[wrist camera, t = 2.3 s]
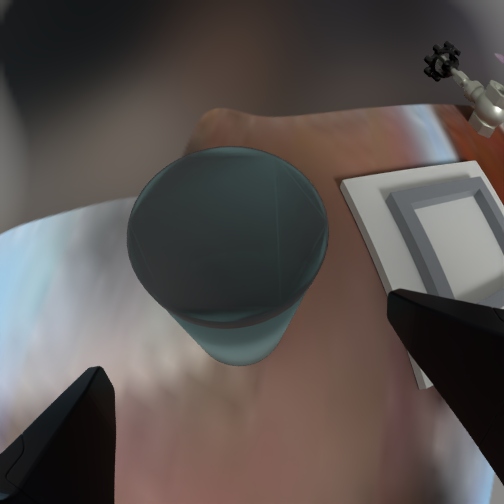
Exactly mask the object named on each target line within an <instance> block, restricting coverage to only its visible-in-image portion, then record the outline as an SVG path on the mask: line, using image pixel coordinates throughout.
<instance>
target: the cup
mask: <svg viewBox="0 0 504 504" xmlns="http://www.w3.org/2000/svg"><path fill="white" fill-rule="evenodd" d="M328 237H329V227H328V219H327V214H326V210H325V207H324V204H323V202H322V199H321V197H320V195H319V194H318V192H317V190H316V189H315V187H314V186H313V184H312V183H311V182H310V181H309V179H308V178H307V177H306V176H305V175H304V174H303V173H302V172H301V171H299V170H298V169H297V168H296V167H294V166H293V165H292V164H290V163H288V162H287V161H285V160H284V159H282V158H280V157H278V156H275V155H273V154H270V153H268V152H265V151H261V150H257V149H253V148H247V147H236V146H226V147H215V148H209V149H204V150H201V151H197V152H194V153H191V154H189V155H186V156H184V157H182V158H180V159H178V160H176V161H174V162H173V163H171V164H169V165H168V166H166V167H165V168H164V169H163V170H161V171H160V172H159V173H157V174H156V175H155V177H153V178H152V180H150V181H149V183H148V184H147V185H146V186H145V188H144V189H143V190H142V192H141V193H140V195H139V197H138V198H137V200H136V202H135V204H134V207H133V209H132V211H131V215H130V218H129V222H128V229H127V248H128V254H129V258H130V261H131V264H132V268H133V270H134V272H135V274H136V276H137V278H138V279H139V281H140V282H141V284H142V285H143V286H144V288H145V289H146V290H147V291H148V293H149V294H150V295H151V296H152V297H153V298H154V299H155V300H156V301H157V302H158V303H159V304H160V305H161V306H162V307H163V308H165V309H166V310H167V311H168V312H169V313H170V314H171V316H172V317H173V318H174V319H175V320H176V321H177V322H178V323H179V324H180V325H181V326H182V327H183V328H184V329H185V331H186V332H187V333H188V334H189V335H190V336H191V337H192V338H193V339H194V340H195V341H196V342H197V343H198V344H199V345H200V346H201V347H202V348H203V349H204V350H205V351H206V352H207V353H208V354H209V355H210V356H211V357H213V358H214V359H215V360H217V361H219V362H221V363H224V364H227V365H232V366H246V365H251V364H254V363H257V362H259V361H261V360H263V359H264V358H266V357H267V356H268V355H269V354H270V353H271V352H272V351H273V350H274V349H275V348H276V346H277V345H278V343H279V341H280V339H281V338H282V336H283V334H284V332H285V330H286V328H287V327H288V325H289V323H290V321H291V319H292V317H293V315H294V314H295V312H296V310H297V308H298V306H299V304H300V302H301V300H302V298H303V297H304V295H305V293H306V291H307V290H308V289H309V287H310V285H311V284H312V282H313V281H314V279H315V277H316V275H317V273H318V271H319V270H320V267H321V265H322V263H323V260H324V258H325V254H326V250H327V246H328Z"/></svg>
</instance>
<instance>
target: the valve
mask: <svg viewBox="0 0 504 504" xmlns="http://www.w3.org/2000/svg"><path fill="white" fill-rule="evenodd" d="M451 48H452V49H451ZM450 49H451V50H450ZM433 50H434V54H433V55H432V56H429V55H428V56H426V57H425V59H424V61H425V62H426V63H427V64H428V65H429V67H426V68H425V69H424V73H425V74H426V75H427V76H428V77H432V78H433V79H434V80H435V81H436V82H438V81H439V80H440V78H448V77H450V76H454V80H455V81H456V82H457V83H458V84H459V85H460V86H461V87H464V90H465V91H464V96H465V97H466V98H467V99H468V100H469V101H470V102H474V103H475V109H474V111H473V113H472V114H471V116H470V119H469V121H468V122H469V124H470V125H471V126H472V127H473V128H474V130H475V131H476V132H477V133H478V134H480V135H483V136H485V137H487V138H490V136H491V135H492V133H493V132H494V130H495V127H497V126H499V125H501V124H502V123H503V121H504V86H503V85H501V84H499V83H498V82H496V81H493V80H491V81H490V83H489V84H488V86H487V88H486V90H485V91H484V87H483V86H482V85H481V84H480V83H479V82H478V81H473V82H472V81H469V78H468V77H467V76H466V75H465V74H464V73H463V72H462V71H457V68H458V66H459V61H458V59H457V58H456V57H455V55H458V56H459V55H460V53H461V52H460V51H459V50H458V49H457V48H456V47H454V45H453V44H451V43H450V42H449V41H446V42H445V43H444V47H443V48H441V47H440V46H439V45H438V44H436V45H434V46H433ZM444 53H449V59H447V58H446V57H445V56H441V55H442V54H444ZM437 59H438V61H437V64H438V65H439V66H440V67H441V69H438V70H437V69H435V63H436V60H437ZM432 72H433V73H432ZM431 73H432V75H431Z"/></svg>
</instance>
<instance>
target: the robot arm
mask: <svg viewBox="0 0 504 504" xmlns="http://www.w3.org/2000/svg"><path fill="white" fill-rule="evenodd" d="M387 317H388V320H389V322H390V324H391V325H392V327H393V328H394V330H395V332H396V333H397V335H398V336H399V338H400V340H401V341H402V343H403V344H404V346H405V348H406V349H407V351H408V352H409V354H410V355H411V357H412V358H413V359H414V361H415V362H416V363H417V364H418V366H419V367H420V368H421V370H422V371H423V372H424V373H425V375H426V376H427V377H428V379H429V380H430V381H431V383H432V384H433V385H434V387H435V388H436V389H437V391H438V392H439V393H440V395H441V396H442V397H443V399H444V400H445V401H446V403H447V404H448V405H449V407H450V408H451V409H452V411H453V412H454V414H455V415H456V416H457V418H458V419H459V421H460V422H461V423H462V425H463V426H464V428H465V429H466V430H467V432H468V433H469V435H470V436H471V437H472V439H473V440H474V442H475V443H476V445H477V446H478V447H479V449H480V451H481V452H482V454H483V455H484V457H485V458H486V460H487V461H488V463H489V464H490V466H491V467H492V469H493V470H494V472H495V473H496V475H497V476H498V478H499V479H500V481H501V482H502V484H503V485H504V309H500V308H495V307H493V308H492V307H490V306H485V305H480V304H475V303H470V302H465V301H460V300H455V299H450V298H445V297H441V296H436V295H431V294H426V293H421V292H416V291H411V290H406V289H402V288H398V289H396V290H393V291H390V292H389V293H388V297H387ZM115 449H116V417H115V391H114V387H113V385H112V383H111V382H110V380H109V378H108V376H107V374H106V373H105V371H104V369H103V368H102V367H101V366H96V367H90V368H88V369H87V370H86V371H85V372H84V373H83V374H82V375H81V376H80V377H79V378H78V379H77V380H76V381H74V382H73V383H72V384H71V385H70V386H69V387H68V388H67V389H66V390H65V391H64V392H63V393H62V394H61V395H60V396H59V397H58V398H57V399H56V400H55V401H54V402H53V403H52V404H51V405H50V406H49V407H48V408H47V409H46V410H45V411H44V412H43V413H42V414H41V415H40V416H39V417H38V418H37V419H36V420H35V421H34V422H33V423H32V424H31V425H30V426H29V427H28V428H27V429H26V430H25V431H24V432H23V434H21V435H20V436H19V437H18V438H17V439H16V440H15V441H14V442H13V443H12V444H11V445H10V446H8V447H7V448H6V449H5V450H4V451H3V452H2V453H1V454H0V504H114V480H115Z"/></svg>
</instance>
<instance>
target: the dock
mask: <svg viewBox="0 0 504 504" xmlns="http://www.w3.org/2000/svg"><path fill="white" fill-rule="evenodd" d="M340 190H341V192H342V194H343V196H344V198H345V200H346V202H347V204H348V206H349V208H350V210H351V212H352V214H353V217H354V219H355V221H356V223H357V225H358V227H359V230H360V232H361V234H362V236H363V239H364V241H365V243H366V245H367V248H368V250H369V252H370V255H371V257H372V259H373V262H374V264H375V267H376V269H377V271H378V274H379V276H380V279H381V281H382V284H383V286H384V289H385V291H386V294H387V296H388V293H389V292H390V291H393V290H396V289H398V288H402V289H406V290H411V291H416V292H421V293H426V294H431V295H436V296H441V297H445V298H450V299H455V300H460V301H465V302H470V303H475V304H480V305H485V306H490V307H492V308H493V307H495V308H500V309H504V206H503V204H502V202H501V201H500V199H499V197H498V196H497V194H496V192H495V190H494V189H493V187H492V185H491V184H490V182H489V181H488V179H487V177H486V176H485V174H484V173H483V171H482V170H481V168H480V167H479V165H478V164H477V162H476V161H469V162H460V163H452V164H444V165H436V166H429V167H421V168H414V169H407V170H401V171H394V172H387V173H381V174H375V175H369V176H363V177H357V178H351V179H345V180H342V183H341V185H340ZM407 352H408V351H407ZM408 355H409V358H410V361H411V365H412V368H413V371H414V374H415V377H416V381H417V384H418V387H419V390H420V389H427V388H429V387H431V386H433V384H432V383H431V381H430V380H429V379H428V377H427V376H426V375H425V373H424V372H423V371H422V370H421V368H420V367H419V366H418V364H417V363H416V362H415V361H414V359H413V358H412V357H411V355H410V354H409V352H408Z"/></svg>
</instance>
